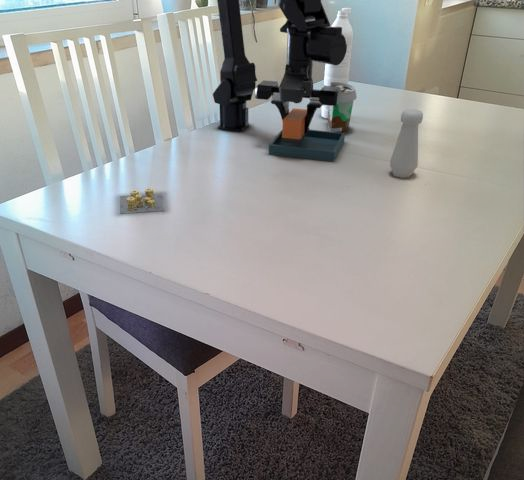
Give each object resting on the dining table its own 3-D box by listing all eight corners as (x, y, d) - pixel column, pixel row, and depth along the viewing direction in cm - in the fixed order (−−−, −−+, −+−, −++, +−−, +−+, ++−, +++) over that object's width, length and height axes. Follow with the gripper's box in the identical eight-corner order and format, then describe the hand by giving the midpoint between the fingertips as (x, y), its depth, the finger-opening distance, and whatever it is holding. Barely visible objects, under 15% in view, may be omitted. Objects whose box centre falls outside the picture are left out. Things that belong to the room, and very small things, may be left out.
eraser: (281, 142, 124) (282, 119, 121) (292, 129, 132) (293, 108, 129) (299, 144, 123) (300, 121, 120) (309, 131, 131) (310, 109, 128)
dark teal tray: (268, 154, 125) (268, 144, 123) (284, 136, 135) (284, 126, 134) (333, 161, 121) (334, 151, 120) (344, 142, 132) (345, 133, 131)
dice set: (128, 210, 100) (126, 200, 99) (127, 199, 104) (126, 189, 103) (155, 208, 101) (154, 198, 100) (154, 197, 105) (153, 188, 103)
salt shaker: (418, 172, 117) (430, 108, 109) (412, 181, 113) (425, 115, 105) (391, 167, 119) (402, 105, 111) (385, 176, 115) (395, 111, 107)
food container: (355, 137, 135) (360, 94, 129) (330, 136, 135) (334, 93, 129) (350, 122, 145) (354, 82, 139) (327, 122, 145) (330, 81, 139)
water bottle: (341, 121, 146) (352, 12, 130) (318, 118, 148) (326, 11, 132) (349, 112, 152) (360, 8, 137) (326, 110, 154) (335, 7, 138)
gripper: (247, 62, 113) (247, 138, 123) (335, 69, 109) (328, 147, 119) (262, 52, 121) (261, 124, 131) (344, 58, 118) (337, 132, 127)
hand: (296, 132), depth 127 cm, fingers closed on eraser, 4 cm apart
